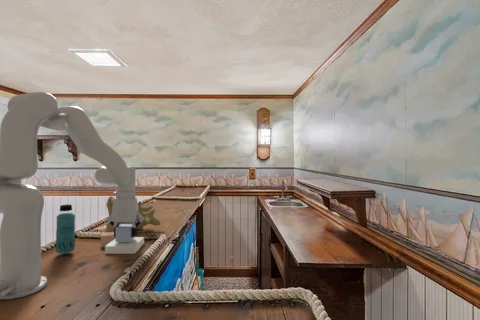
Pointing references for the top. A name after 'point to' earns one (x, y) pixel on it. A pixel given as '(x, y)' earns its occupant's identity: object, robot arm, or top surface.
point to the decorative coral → (144, 212)
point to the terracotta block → (106, 238)
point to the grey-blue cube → (124, 233)
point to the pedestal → (124, 246)
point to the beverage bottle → (65, 230)
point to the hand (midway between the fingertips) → (125, 235)
